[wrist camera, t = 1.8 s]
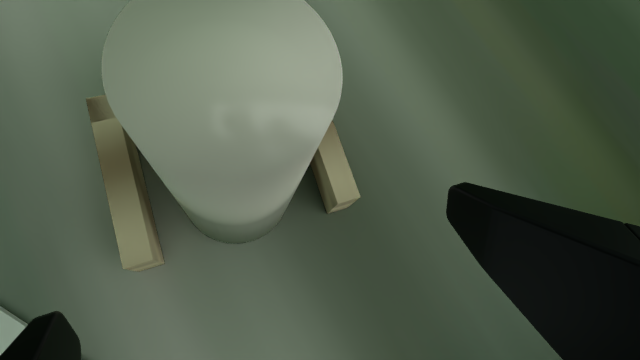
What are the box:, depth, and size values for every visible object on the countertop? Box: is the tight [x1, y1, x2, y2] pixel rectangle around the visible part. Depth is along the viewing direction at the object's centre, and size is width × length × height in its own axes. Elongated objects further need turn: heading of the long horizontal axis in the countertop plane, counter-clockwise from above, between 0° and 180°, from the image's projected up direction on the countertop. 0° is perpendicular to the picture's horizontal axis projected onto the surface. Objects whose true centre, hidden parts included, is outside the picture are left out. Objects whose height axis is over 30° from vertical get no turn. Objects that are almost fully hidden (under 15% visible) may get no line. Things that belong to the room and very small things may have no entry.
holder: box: [86, 95, 360, 272], centre depth 19 cm, size 8×11×2 cm
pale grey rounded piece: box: [101, 0, 343, 244], centre depth 15 cm, size 8×5×12 cm
